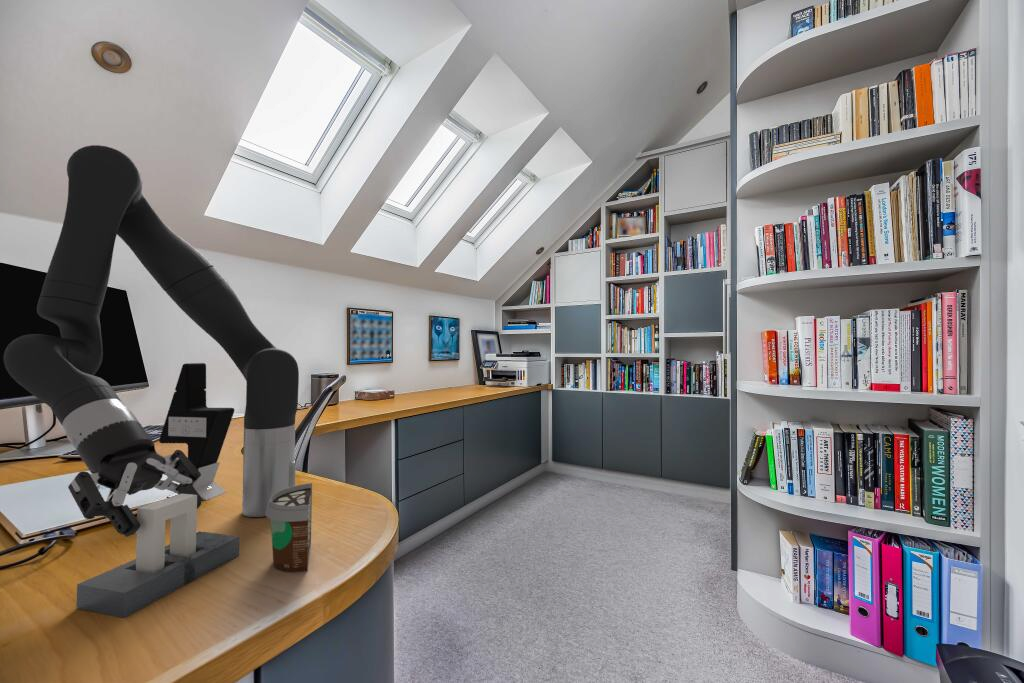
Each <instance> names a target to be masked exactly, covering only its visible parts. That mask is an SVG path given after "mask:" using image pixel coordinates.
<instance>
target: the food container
mask: <svg viewBox="0 0 1024 683" xmlns="http://www.w3.org/2000/svg"><path fill="white" fill-rule="evenodd" d="M312 499H313V482H308V483H303V484H298V485H295V486H293V487H289V488H286V489H283V490H281V491H278V492H276V493H275V494H273V495H272V496H271V498H270V500H269V502H268V504H267V508H266V513H265V515H266V516H265V517H267V519H270V531H271V545H272V546H271V547H272V561H273V562H272V563H273V564H272V565H273V567H274V568H275V569H276V570H277V571H279V572H284V573H303V572H308V570H309V563H310V555H311V554H310V553H311V547H312V514H313V513H312V508H313V507H312V506H313V500H312Z"/></svg>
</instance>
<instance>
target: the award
mask: <svg viewBox="0 0 1024 683" xmlns="http://www.w3.org/2000/svg"><path fill="white" fill-rule="evenodd" d="M206 389H207V364H206V363H204V362H194V363H192V362H190V363H184V364H182V366H181V369H180V372H179V376H178V379H177V382H176V385H175V388H174V392H173V394H172V398H171V401H170V405H169V408H168V411H167V414H166V418H165V420H164V424H163V427H162V430H161V433H160V436H159V439H158V442H159V443H160V444H185V445H187V458H188V459H189V460H190V461H191V462H192V464H193V465H194V466H195V467H196V468H197V470H198V471H199V472H200V473H201V476H200V477H199V478H198V479H197V481H196V482H195V483H194V484H193V487H194V488H195V490H196V491H197V492H198V494H199V495H200V497H201V498H202V501H207V500H208V501H209V500H211V499H213V498H216V497H219V496H221V495H224V494H226V493H227V491H226V490H224V488H222V487H221V486H220V485H219V484H218V483H216V482H215V477H216V474H217V471H218V469H219V466H220V462H221V461H218V460H219V457H220V454H221V451H222V449H223V446H224V443H225V440H226V436H227V434H228V432H229V429H230V425H231V423H232V420H233V416H234V413H235V408H234V407H208V406H207V390H206ZM187 474H188V472H187ZM188 475H189V474H188ZM189 476H190V475H189ZM208 486H211V487H212V489H211V490H207V488H209V487H208Z"/></svg>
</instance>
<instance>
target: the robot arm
mask: <svg viewBox="0 0 1024 683" xmlns="http://www.w3.org/2000/svg"><path fill="white" fill-rule="evenodd" d="M66 164H67V165H66V174H67V177H68V182H67V183H68V189H67V190H68V191H67V202H66V208H65V213H64V220H63V223H62V227H61V229H60V230H61V231H60V234H59V237H58V240H57V242H56V245H55V248H54V252H53V254H52V258H51V261H50V264H49V266H48V270H47V271H46V276H45V278H44V282H43V284H42V288H41V291H40V295H39V298H38V302H37V305H36V313H37V315H38V316H39V317H41V318H42V319H44V320H46V321H49V322H52V323H53V324H55V325H56V326H57V327H58V329H59V332H60V337H59V336H55V335H48V334H43V333H42V334H41V333H32V334H31V333H29V334H24V335H21V336H19V337H18V336H17V338H15V339H13V340H11V342H10V343H9V344H8V345H7V346H6V348H5V350H4V354H3V364H4V367H5V369H6V371H7V372H8V374H9V376H10V377H11V378H12V379H13V380H14V381H15V382H16V383H17V384H18V385H20V386H21V387H23V389H24V390H26V391H27V392H29V393H30V394H31V395H32V396H34V397H35V398H36V399H38V400H39V401H41V402H42V403H43V404H45V405H47V406H48V407H49V408H50V409H51V411H52V413H53V415H54V416H55V417H56V418H57V420H58V422H59V423H60V424H61V426H62V427H63V430H64V432H65V435H66V437H67V439H68V441H69V442H70V443H71V446H72V447H73V448H74V450H75V451H76V452H77V454H78V456H79V457H80V459H81V461H83V463H84V465H85V467H86V468H87V469H88V470H89V472H88V471H79V472H78V473H77V474H76V475H75V477H74V478H73V480H72V481H71V482H70V483H69V484H68V486H67V488H68V490H69V492H70V494H71V496H72V497H73V499H74V501H75V504H76V505H77V508H78V509H79V511H80V512H81V514H82V516H83V518H85V519H86V520H92V519H95V518H96V517H105V518H106V519H108V520H109V521H110V522H111V524H112V526H113V527H114V529H115V530H116V532H117V533H118V534H120V535H121V536H122V535H124V537H126V538H128V537H131V536H133V535H135V534H137V530H138V529H139V528H140V523H139V521H138V520H137V516H135V514H134V512H133V511H132V510H131V509H130V507H129V505H128V504H124V503H125V499H126V497H127V494H128V496H130V495H135V494H136V493H138V492H140V491H148V490H151V489H153V488H155V489H157V490H161V491H165V490H167V491H170V492H173V493H177V494H191V495H197V510H198V509H199V508H200V506H201V505H202V501H203V499H202V498H201V497H200V495H199V494H198V492H197V491H196V490H195V488H194V487H193V484H194V483H195V482H196V481H197V479H198V478H199V477H200V476H201V473H200V472H199V471H198V470H197V468H196V467H195V466H194V465H193V464H192V462H191V461H190V460H189V459H188V455H186V454H185V453H184V452H183V451H182V450H180V449H176V450H174V452H173V453H171V454H169V455H165V456H163V455H160V454H159V453H158V452H157V451H156V447H155V446H156V445H155V442H154V441H153V439H152V438H151V437H150V435H149V434H148V432H147V431H146V430H145V428H144V427H143V425H142V424H141V423H140V422H139V420H138V418H137V417H136V415H135V414H134V413H133V411H131V409H129V408H128V407H127V406H126V405H125V403H124V402H123V401H122V400H121V398H120V397H119V396H118V395H117V392H115V390H114V389H113V388H112V386H111V385H110V384H109V382H107V381H106V380H104V379H103V378H102V377H99V376H96V375H95V374H96V373H97V372H98V370H99V369H100V367H101V365H102V362H103V356H104V351H103V339H102V329H101V322H100V319H101V318H100V314H101V311H102V307H103V303H104V300H105V297H106V292H107V290H108V285H109V281H110V280H109V279H110V275H111V269H112V260H113V254H114V249H115V244H116V238H117V236H118V237H119V238H120V239H121V240H122V241H123V242H124V243H125V244H126V245H127V246H128V247H129V248H130V250H131V251H132V253H133V254H134V255H135V257H136V258H137V259H138V261H139V262H140V263H141V264H142V266H143V267H144V268H145V269H146V271H147V272H148V273H149V274H150V276H151V277H152V278H153V279H154V281H156V283H157V284H158V285H159V286H160V287H161V289H162V290H163V291H164V292H165V293H166V294H167V295H168V297H170V299H171V300H172V301H173V302H174V303H175V304H176V305H177V306H178V308H180V309H181V310H182V312H184V314H185V315H187V317H189V319H191V320H192V321H193V322H194V323H195V324H196V325H197V326H199V328H201V329H202V330H203V331H204V332H205V333H206V334H208V336H210V337H211V338H212V339H213V340H215V342H216V343H217V344H219V346H220V347H221V348H222V349H223V350H224V352H225V353H226V354H227V355H228V356H229V358H230V359H231V361H233V363H234V364H235V366H236V367H237V369H238V370H239V372H240V373H241V375H242V376H243V377H244V379H245V381H246V390H245V391H246V393H245V396H246V397H245V408H244V415H243V452H242V453H243V457H242V459H243V464H242V501H241V502H242V503H241V507H242V509H241V510H242V512H241V513H242V515H243V516H245V517H249V518H260V517H261V518H262V517H267V516H266V515H265V513H266V508H267V504H268V502H269V500H270V498H271V496H272V495H273V494H275V493H276V492H278V491H281V490H283V489H286V488H289V487H293V486H296V461H295V458H296V457H295V455H296V453H295V452H296V450H295V449H296V415H297V412H298V405H299V383H300V382H299V378H300V375H299V374H300V373H299V372H300V371H299V365H298V362H297V360H296V359H295V357H294V356H293V355H292V354H291V353H289V352H288V351H286V350H285V349H281V348H278V347H276V346H275V345H274V344H273V343H272V342H271V341H269V339H268V338H267V337H266V336H265V335H264V334H263V333H262V332H261V331H260V330H259V329H258V328H257V326H256V325H255V324H254V322H253V321H252V320H251V318H250V316H249V315H248V313H247V312H246V309H245V308H244V306H243V304H242V303H241V301H240V299H239V298H238V296H237V294H236V293H235V291H234V290H233V288H232V287H231V286H230V285H229V283H228V281H227V280H226V279H225V278H224V277H223V275H222V274H221V273H220V272H219V270H218V269H217V268H216V267H215V266H214V264H212V263H211V262H210V260H209V259H208V258H206V256H205V255H204V254H202V253H201V252H200V251H199V250H198V249H196V248H195V247H194V246H193V245H191V244H190V243H189V242H187V241H186V240H184V239H183V238H182V237H181V236H179V234H177V233H175V232H174V231H173V230H172V229H171V228H170V227H169V226H168V225H167V224H166V223H165V222H164V221H163V219H162V218H161V217H160V215H159V214H158V213H157V212H156V210H155V209H154V208H153V207H152V205H151V203H150V202H149V201H148V199H147V198H146V195H145V194H144V193H143V191H142V190H143V184H144V183H143V177H142V174H141V171H140V169H139V168H138V166H137V164H136V163H135V162H134V161H133V160H132V159H131V158H130V156H129V157H128V156H127V155H126V154H125V153H124V152H122V151H120V150H117V149H116V148H113V147H110V146H106V145H98V144H96V145H95V144H94V145H93V144H92V145H86V146H83V147H81V148H79V149H77V150H76V151H74V152H73V153H72V154H71V156H70V157H69V158H68V160H67V163H66ZM187 472H188V474H189V475H190V476H189V475H188V474H187ZM164 475H165V476H166V478H165V479H164V480H162V478H163V476H164ZM175 482H176V483H175ZM97 485H100V486H102V487H105V488H108V489H110V490H109V491H108V496H107V498H106V500H105V499H104V497H103V495H102V494H101V492H100V490H99V489H98V486H97ZM123 504H124V505H123Z"/></svg>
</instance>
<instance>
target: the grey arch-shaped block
mask: <svg viewBox="0 0 1024 683" xmlns="http://www.w3.org/2000/svg"><path fill="white" fill-rule="evenodd" d="M136 510H137V511H136V514H137V515H136V519H137V520H138V521H139V523H140V528H139V529H138V530H137V531H136V542H135V544H136V546H135V548H136V549H135V559H136V571H142V572H148V573H155V572H157V571H159V570H161V569H163V568H164V562H165V546H166V521H168V520H170V522H169V523H170V527H169V528H170V532H169V544H170V555H176V556H183V557H188V556H190V555H192V554H194V553H196V533H197V524H198V523H197V515H198V514H197V513H198V512H197V511H198V509H197V495H191V494H178V495H175V496H172V497H169V498H167V497H166V498H164V499H160V500H158V501H154V502H152V503H149V504H145V505H142V506H140V507H137V508H136Z"/></svg>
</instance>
